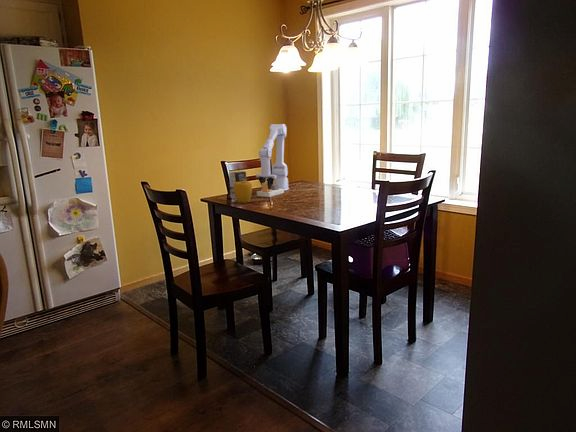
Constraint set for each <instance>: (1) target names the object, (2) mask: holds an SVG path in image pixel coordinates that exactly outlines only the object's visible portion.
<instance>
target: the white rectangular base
mask: <svg viewBox="0 0 576 432" xmlns="http://www.w3.org/2000/svg"><path fill="white" fill-rule="evenodd" d="M283 194H285V191H284V189H279V188H278V184H275V183H272V186H271V191H270V192H262V190H259V191H256V197H259V198H269V199H270V198H273V197H277V196H279V195H283Z"/></svg>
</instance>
